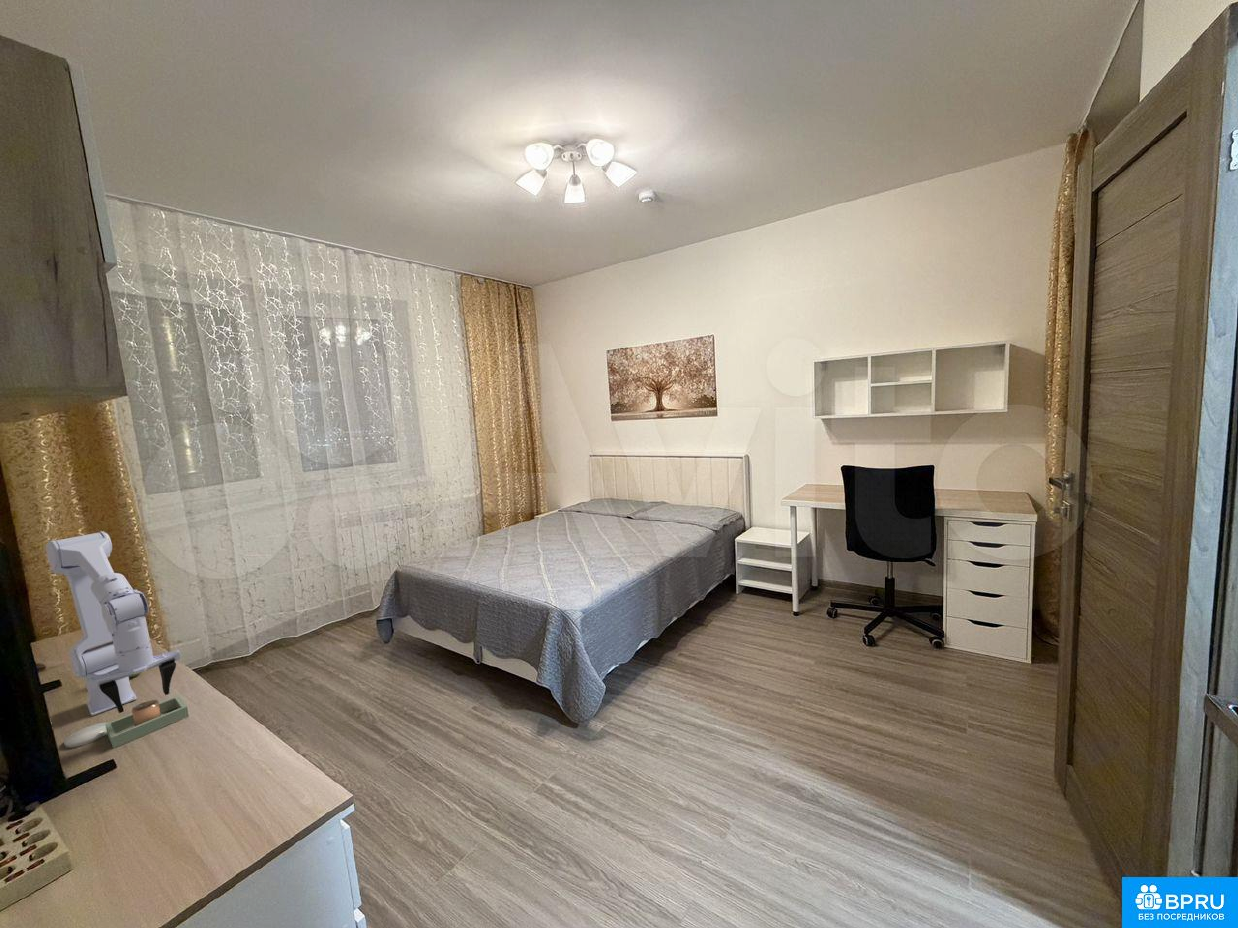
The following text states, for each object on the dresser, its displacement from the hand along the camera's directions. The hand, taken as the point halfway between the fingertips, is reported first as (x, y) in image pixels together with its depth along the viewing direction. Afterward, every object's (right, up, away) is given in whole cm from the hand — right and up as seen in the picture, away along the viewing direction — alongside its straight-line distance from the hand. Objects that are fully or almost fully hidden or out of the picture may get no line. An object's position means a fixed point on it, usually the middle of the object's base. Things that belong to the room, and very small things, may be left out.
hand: (144, 701), depth 111 cm
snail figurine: (-27, -5, +24) cm, 37 cm away
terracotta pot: (0, -6, +1) cm, 6 cm away
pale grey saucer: (-11, -7, -2) cm, 13 cm away
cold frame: (0, -6, +1) cm, 6 cm away
